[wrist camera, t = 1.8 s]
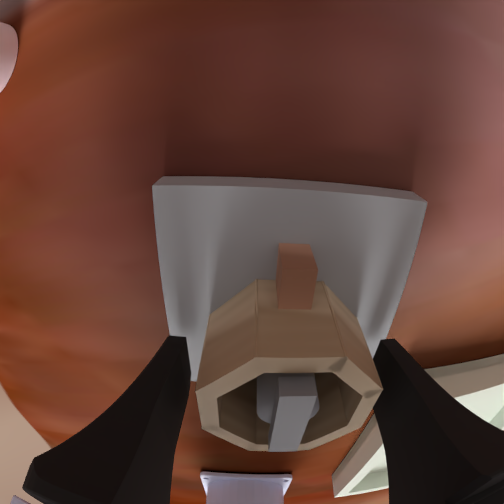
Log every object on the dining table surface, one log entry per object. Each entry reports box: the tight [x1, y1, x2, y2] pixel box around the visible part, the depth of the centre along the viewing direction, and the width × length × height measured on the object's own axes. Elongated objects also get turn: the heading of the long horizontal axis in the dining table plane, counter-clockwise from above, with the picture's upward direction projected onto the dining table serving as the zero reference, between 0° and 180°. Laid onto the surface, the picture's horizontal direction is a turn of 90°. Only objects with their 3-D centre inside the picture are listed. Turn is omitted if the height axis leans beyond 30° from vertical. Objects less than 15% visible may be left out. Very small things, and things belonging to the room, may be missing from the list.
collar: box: [195, 243, 383, 451], centre depth 10 cm, size 8×6×4 cm
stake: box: [152, 176, 427, 452], centre depth 10 cm, size 9×9×5 cm
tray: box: [332, 354, 504, 497], centre depth 17 cm, size 16×16×2 cm
